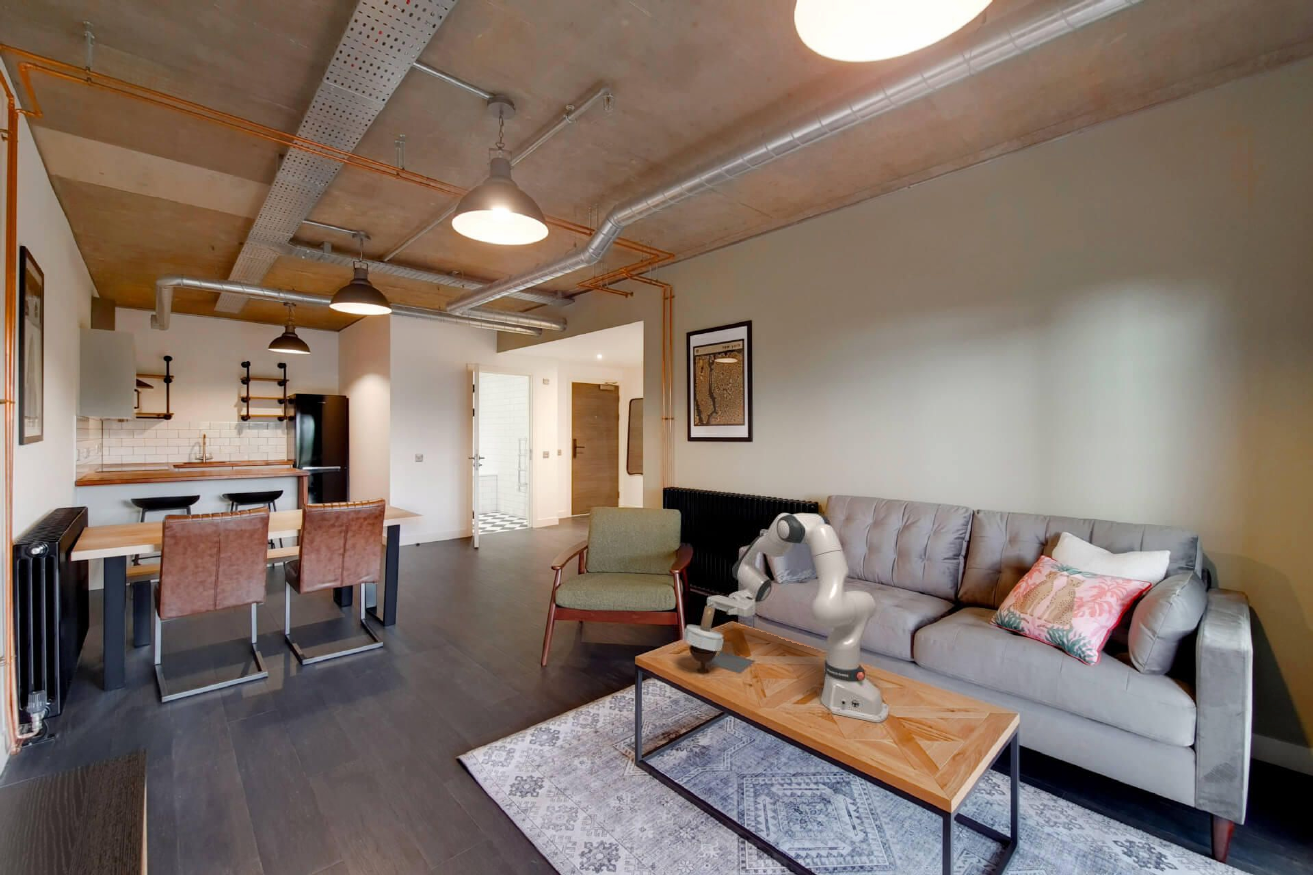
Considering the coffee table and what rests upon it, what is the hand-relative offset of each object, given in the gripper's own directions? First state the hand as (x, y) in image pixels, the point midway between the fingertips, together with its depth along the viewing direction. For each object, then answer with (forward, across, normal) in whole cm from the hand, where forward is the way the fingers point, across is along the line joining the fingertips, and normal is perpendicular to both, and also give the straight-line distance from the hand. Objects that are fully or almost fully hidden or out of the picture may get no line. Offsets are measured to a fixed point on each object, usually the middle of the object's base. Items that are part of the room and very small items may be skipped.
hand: (718, 609), depth 228 cm
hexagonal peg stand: (+10, 0, +12) cm, 15 cm away
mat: (-6, +3, +23) cm, 24 cm away
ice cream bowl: (+9, 0, +23) cm, 25 cm away
